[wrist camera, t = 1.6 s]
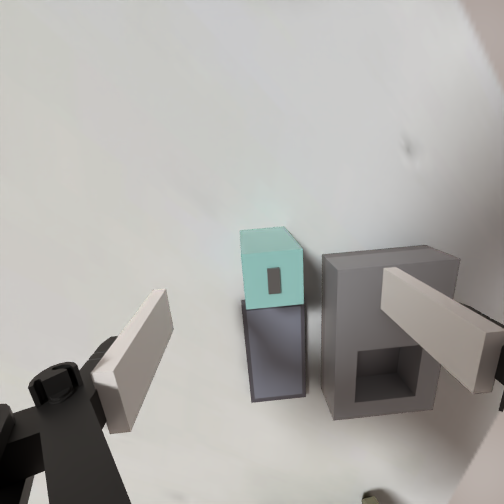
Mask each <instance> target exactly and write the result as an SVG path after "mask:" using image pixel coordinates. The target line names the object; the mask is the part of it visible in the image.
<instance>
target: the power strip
mask: <svg viewBox="0 0 504 504" xmlns="http://www.w3.org/2000/svg"><path fill="white" fill-rule="evenodd" d="M459 264H460V258H457V257H455V256H452V255H449V254H447V253H444V252H442V251H439V250H437V249H434V248H432V247H429V246H427V245H421V246H410V247H399V248H388V249H377V250H366V251H355V252H344V253H333V254H322V328H321V389H322V391H323V394H324V396H325V399H326V402H327V404H328V407H329V409H330V412H331V415H332V417H333V420H342V419H351V418H360V417H370V416H379V415H388V414H397V413H406V412H415V411H424V410H433V405H434V399H435V394H436V388H437V383H438V378H439V372H440V367H441V364H440V363H439V362H438V361H436V360H435V359H434V358H433V357H432V356H431V355H430V354H429V353H428V352H427V351H426V350H425V349H424V348H422V347H421V346H420V345H419V344H418V343H417V342H416V341H415V340H414V339H413V338H412V337H411V336H410V335H408V334H407V333H406V332H405V331H404V330H403V329H402V328H401V327H400V326H399V325H398V324H397V323H396V322H394V321H393V320H392V319H391V318H390V317H389V316H388V315H387V314H386V313H385V312H384V311H383V310H381V296H382V282H383V269H384V268H390V267H397V268H399V269H400V270H402V271H404V272H406V273H407V274H409V275H411V276H413V277H414V278H416V279H418V280H420V281H421V282H423V283H425V284H427V285H428V286H430V287H432V288H434V289H435V290H437V291H439V292H441V293H442V294H444V295H446V296H447V297H449V298H451V299H453V297H454V291H455V286H456V280H457V275H458V270H459Z"/></svg>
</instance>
